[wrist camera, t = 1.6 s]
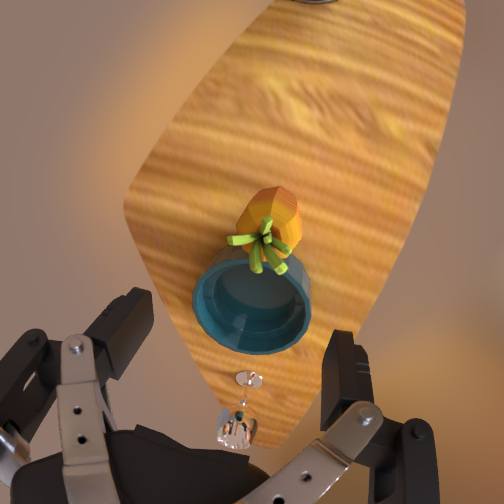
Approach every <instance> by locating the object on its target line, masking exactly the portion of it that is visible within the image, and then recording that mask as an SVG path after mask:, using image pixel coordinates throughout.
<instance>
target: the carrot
mask: <svg viewBox="0 0 504 504" xmlns="http://www.w3.org/2000/svg"><path fill="white" fill-rule="evenodd" d="M236 229H237V232H238V235H231V236H227V243H228V245H233V246H238V245H242V248H243V250H244V251H246V252H248V253H249V263H250V270H251V271H253V272H254V273H261V272H262V271H263V268H262V261H263V262H265V261H268V263H269V264H270V266H271V267H272V268H273V269H274V271H275V272H276V273H277V274H279V275H281V274H283V273H285V272H286V270H287V269H288V267H287V265H286V264H285V263H284V261H283V260H282V259H283V258H287V257H288V256H289V254H291V252H292V250H293V249H294V247H295V246H296V245H297V243H298V242H299V241H300V239H301V238H302V223H301V216H300V212H299V207H298V203H297V199H296V197H295V196H294V194H292V193H291V192H289V191H288V190H286V189H284V188H283V187H281V186H278V187H274V188H269V189H265V190H262V191H259V192H258V193H257V194H256V195H255V196H254V197H253V198H252V200H251V201H250V202H249V204H248V205H247V207H246V209H245V210H244V212H243V214H242V215H241V217H240V219H239V220H238V222H237V224H236Z"/></svg>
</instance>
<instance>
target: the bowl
mask: <svg viewBox="0 0 504 504" xmlns="http://www.w3.org/2000/svg"><path fill="white" fill-rule="evenodd" d="M282 260H283V261H284V263H285V264H286V265H287V267H288V269H287V270H286V272H285V273H283V274H281V275H279V274H277V273H276V272H275V271H274V269H273V268H272V267H271V266H270V264H269V263H268V261H265V262H263V261H262V268H263V271H262V272H261V273H254V272H253V271H251V270H250V263H249V253H248V252H246V251H244V250H243V248H242V245H238V246H233V245H229V246H227V247H225V248H223V249H221V250H220V251H219V252H218V253H217V254H216V255H215V256H214V257H213V258H212V259H211V260H210V262H209V263H208V265H207V266H206V268H205V269H204V271H203V272H202V274H201V276H200V277H199V279H198V281H197V283H196V286H195V288H194V291H193V310H194V313H195V316H196V318H197V321H198V323H199V324H200V325H201V327H202V328H203V329H204V331H205V332H206V333H207V334H208V335H209V336H210V337H211V338H213V339H214V340H215V341H216V342H218V343H219V344H221V345H222V346H225V347H227V348H229V349H231V350H233V351H236V352H240V353H245V354H250V355H270V354H273V353H277V352H280V351H284V350H286V349H288V348H289V347H291V346H292V345H294V344H296V343H297V342H298V341H299V340H300V339H301V338H302V336H303V335H304V334H305V333H306V331H307V329H308V326H309V323H310V319H311V311H312V291H311V283H310V278H309V276H308V274H307V272H306V270H305V268H304V266H303V265H302V263H301V262H300V261H299V260H298V259H297V258H296V257H295V256H294V255H293V254H289V256H288V257H287V258H283V259H282Z"/></svg>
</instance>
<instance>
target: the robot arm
mask: <svg viewBox="0 0 504 504" xmlns="http://www.w3.org/2000/svg"><path fill="white" fill-rule="evenodd" d="M293 1H296V2H300V3H305V4H326V3H330V2H334V1H337V0H293ZM153 322H154V314H153V304H152V294H151V292H150V291H148V290H144V289H140V288H137V287H134V288H132V290H131V291H130V292H129V293H128V294H127V295H126V296H124V295H122V296H120V297H118V298H116V299H114V300H113V301H112V302H111V303H110V304H109V305H108V306H107V308H106V309H104V311H103V312H102V313H101V314H100V315H99V317H97V318H96V320H95V321H94V322H93V323H92V324H91V325H90V326H89V328H88V329H87V330H86V331H85V332H84V333H83V334H75V335H71V336H69V337H68V338H66V339H65V340H64V341H54V340H48V338H47V335H46V333H45V332H44V331H43V330H41V329H31V330H28V331H26V332H25V333H24V334H23V335H22V336H21V337H20V338H19V339H18V340H17V342H16V343H15V344H14V345H13V346H12V348H11V349H10V350H9V351H8V352H7V353H6V355H5V356H4V357H3V358H2V360H1V361H0V481H1V482H2V483H3V484H5V485H6V486H7V487H8V488H10V497H11V500H10V504H314V503H315V502H316V501H317V500H318V499H319V498H320V497H321V496H322V495H323V494H324V493H325V492H326V491H327V490H328V489H329V488H330V487H331V486H332V485H333V484H334V483H335V482H336V481H337V480H338V479H339V477H340V476H341V475H342V474H343V473H344V472H345V471H346V470H347V469H348V467H349V466H350V465H351V463H352V462H355V463H359V464H361V465H365V466H367V467H370V476H369V494H368V504H440V494H439V478H438V468H437V459H436V458H437V457H436V449H435V441H434V434H433V430H432V428H431V427H430V425H429V424H428V423H427V422H426V421H424V420H422V419H418V418H414V419H410V420H408V421H407V422H406V423H405V424H402V423H399V422H396V421H393V420H390V419H387V418H386V417H384V416H383V414H382V411H381V410H380V408H378V406H376V405H375V404H374V397H373V389H372V382H371V375H370V368H369V362H368V356H367V353H366V352H365V350H364V349H363V347H362V346H361V345H355V344H354V340H353V333H352V332H349V331H342V330H336V329H335V330H334V331H333V334H332V336H331V339H330V341H329V344H328V347H327V349H326V352H325V354H324V358H323V362H322V392H321V425H320V426H321V427H320V431H326V432H325V433H324V434H323V435H322V436H321V437H320V438H318V439H315V440H314V441H312V443H310V444H309V445H308V446H307V447H306V448H305V449H304V450H302V452H300V453H299V454H298V455H297V456H296V457H294V458H293V459H292V460H291V461H290V462H289V463H287V464H286V465H285V466H284V467H283V468H282V469H280V470H279V471H278V472H277V473H275V474H274V475H273V476H272V477H270V476H269V475H268V474H266V472H264V471H263V470H261V469H260V468H258V467H256V466H255V465H252V464H250V463H248V461H249V456H247V455H242V454H237V453H232V452H228V451H223V450H208V449H190V448H187V447H185V446H183V445H181V444H180V443H178V442H176V441H175V440H173V439H171V438H170V437H168V436H166V435H165V434H163V433H160V432H157V431H155V430H152V429H149V428H146V427H144V426H141V425H138V424H137V425H136V427H135V429H134V430H118V429H117V426H116V424H115V420H114V417H113V412H112V408H111V403H110V399H109V393H108V388H107V384H106V382H107V380H108V379H109V377H110V378H113V379H115V380H119V378H120V377H121V375H122V374H123V372H124V371H125V369H126V367H127V366H128V364H129V363H130V361H131V360H132V358H133V357H134V355H135V353H136V352H137V350H138V349H139V347H140V346H141V344H142V343H143V341H144V340H145V338H146V337H147V335H148V334H149V332H150V331H151V329H152V326H153ZM33 372H34V373H35V374H36V375H35V376H34V378H33V379H32V380H31V382H30V383H29V384H28V386H27V387H26V389H25V390H24V392H23V389H24V385H25V383H26V382H27V381H28V379H29V378H30V377H31V375H32V374H33ZM56 398H57V409H58V420H59V431H60V440H61V447H62V451H61V452H59V453H56V454H54V455H51V456H48V457H45V458H42V459H39V460H36V461H34V462H31V457H30V447H29V443H30V441H31V440H32V438H33V436H34V434H35V433H36V431H37V429H38V428H39V426H40V424H41V422H42V421H43V419H44V417H45V416H46V414H47V413H48V411H49V409H50V408H51V406H52V404H53V403H54V401H55V400H56Z"/></svg>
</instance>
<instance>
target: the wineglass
mask: <svg viewBox="0 0 504 504" xmlns="http://www.w3.org/2000/svg"><path fill="white" fill-rule="evenodd" d="M236 381H237V383H238V384H240V385H241V386H243V387H245V388H246V389H245V393H244V395H243V397H242V399H241V401H240V404H231V405H228V406H227V407H225V408H224V409H223V410H222V412H221V414H220V416H219V419H218V424H217V440H218V442H219V443H221V444H222V445H224V446H226V447H229V448H233V449H246V448H248V447H249V446H250V445H251V443H252V441H253V439H254V437H255V435H256V432H257V430H258V425H259V418H258V415H257V413H256V412H255V410H254V409H252V408H251V407H249V406H247V405H246V404H247V393H248V389H249V388H251V389H253V388H258V387H260V386H261V385H262V384H263V380H262V378H261V376H259V375H258V374H256V373H254V372H250V371H243V372H240V373H238V374H237V375H236Z"/></svg>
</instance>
